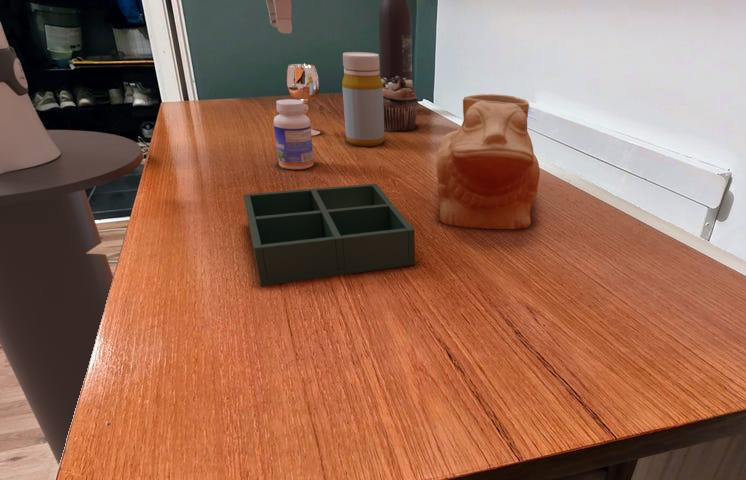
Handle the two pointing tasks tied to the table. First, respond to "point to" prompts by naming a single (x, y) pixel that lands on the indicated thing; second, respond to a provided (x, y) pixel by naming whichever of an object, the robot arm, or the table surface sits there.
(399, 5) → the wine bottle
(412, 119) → the cupcake
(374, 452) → the table surface
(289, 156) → the pill bottle
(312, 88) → the wineglass
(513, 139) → the ceramic vessel
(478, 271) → the table surface
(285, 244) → the organiser
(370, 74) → the bottle
